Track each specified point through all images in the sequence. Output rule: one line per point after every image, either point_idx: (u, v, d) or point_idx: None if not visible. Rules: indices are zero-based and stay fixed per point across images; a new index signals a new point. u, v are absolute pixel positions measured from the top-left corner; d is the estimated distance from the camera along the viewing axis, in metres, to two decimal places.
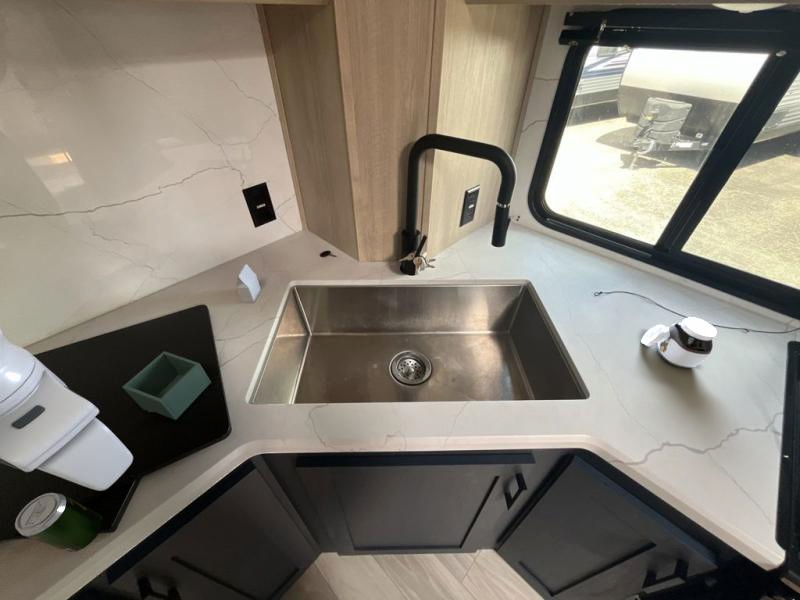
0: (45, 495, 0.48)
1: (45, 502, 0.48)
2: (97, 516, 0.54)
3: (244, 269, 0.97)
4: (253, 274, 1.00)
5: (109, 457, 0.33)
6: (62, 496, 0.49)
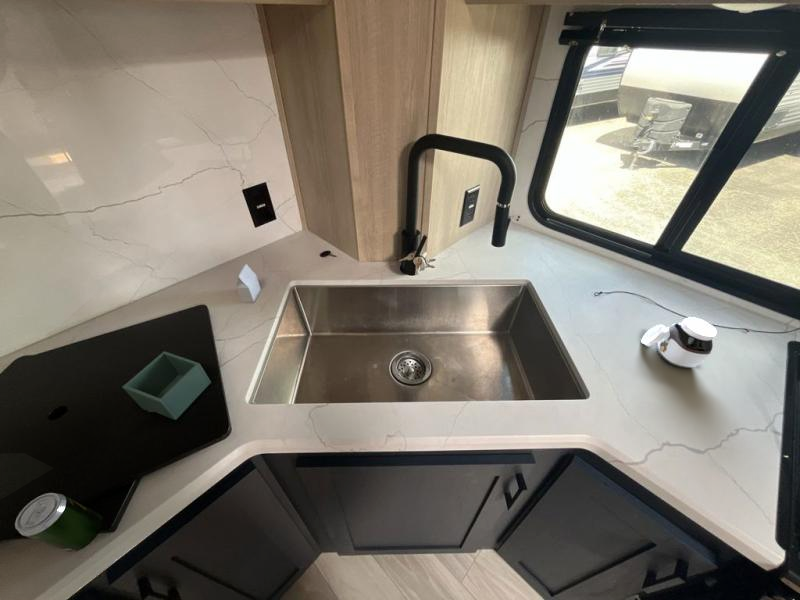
0: (45, 495, 0.48)
1: (45, 502, 0.48)
2: (97, 516, 0.54)
3: (244, 269, 0.97)
4: (253, 274, 1.00)
5: None
6: (62, 496, 0.49)
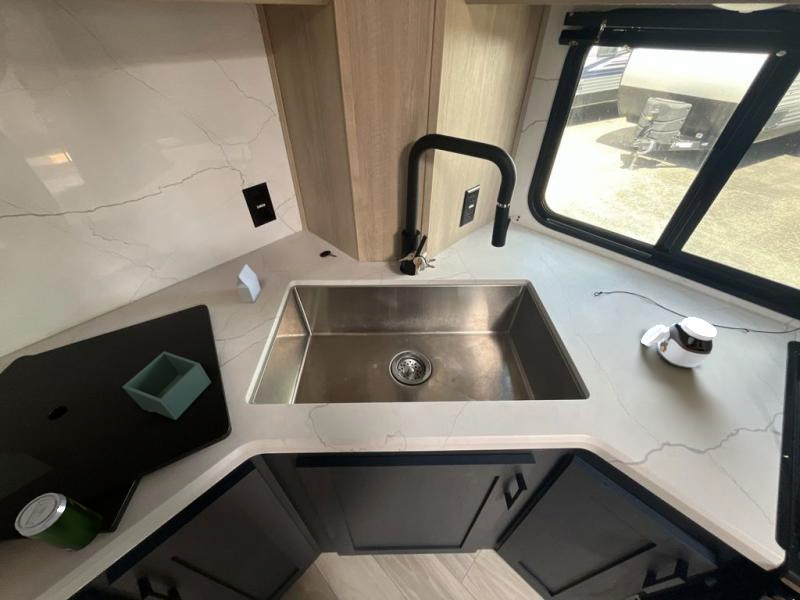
0: (45, 495, 0.48)
1: (45, 502, 0.48)
2: (97, 516, 0.54)
3: (244, 269, 0.97)
4: (253, 274, 1.00)
5: None
6: (62, 496, 0.49)
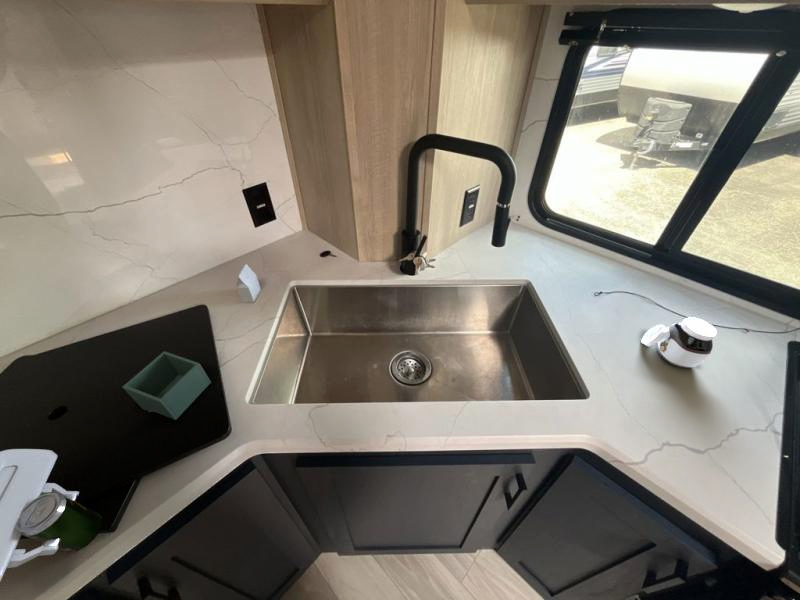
0: (45, 495, 0.48)
1: (45, 502, 0.48)
2: (97, 516, 0.54)
3: (244, 269, 0.97)
4: (253, 274, 1.00)
5: None
6: (62, 496, 0.49)
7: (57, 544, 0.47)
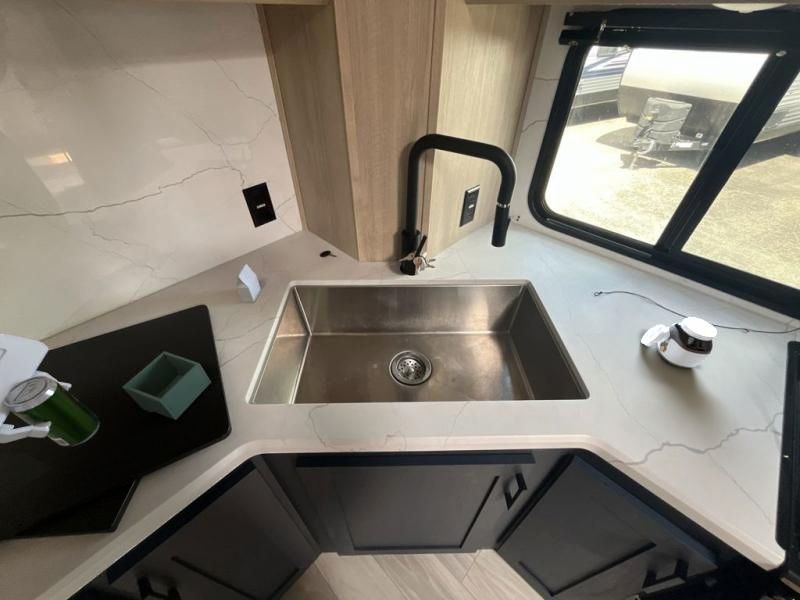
0: (35, 377, 0.46)
1: (35, 383, 0.46)
2: (90, 412, 0.52)
3: (244, 269, 0.97)
4: (253, 274, 1.00)
5: None
6: (53, 380, 0.47)
7: (48, 426, 0.45)
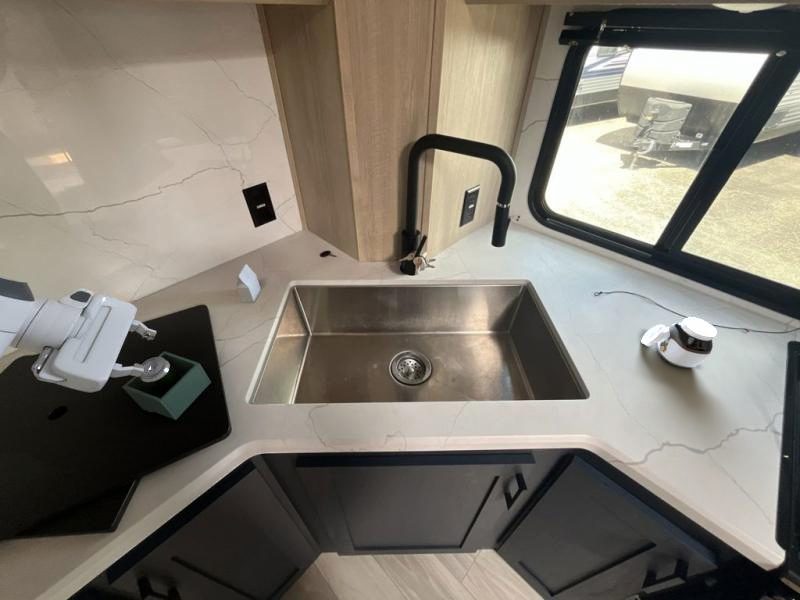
0: (153, 358, 0.66)
1: (155, 362, 0.66)
2: None
3: (244, 269, 0.97)
4: (253, 274, 1.00)
5: None
6: (165, 360, 0.67)
7: (143, 368, 0.60)
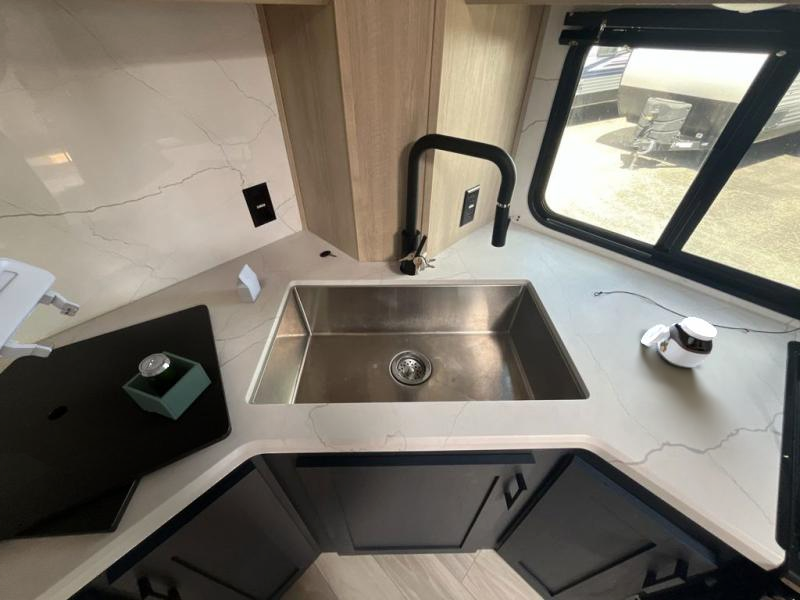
0: (155, 355, 0.68)
1: (156, 358, 0.67)
2: None
3: (244, 269, 0.97)
4: (253, 274, 1.00)
5: None
6: None
7: (50, 347, 0.48)
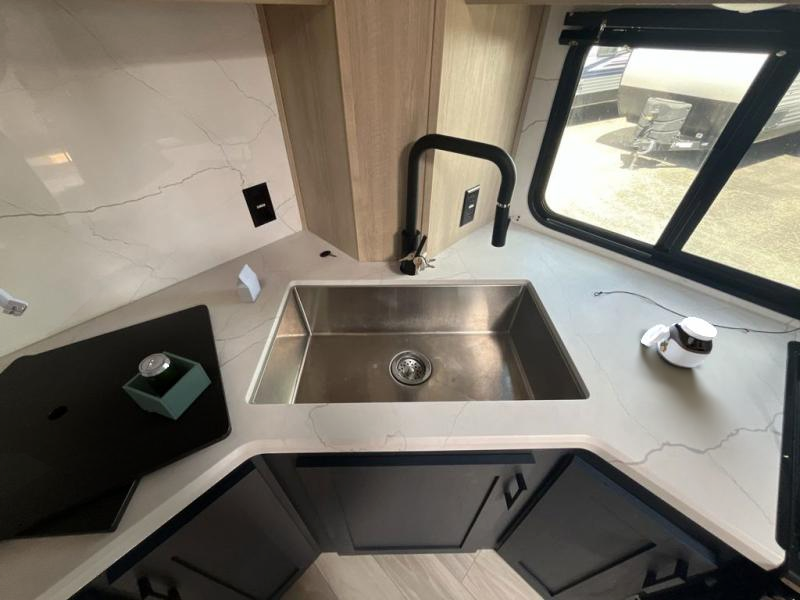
0: (155, 355, 0.68)
1: (156, 358, 0.67)
2: None
3: (244, 269, 0.97)
4: (253, 274, 1.00)
5: None
6: None
7: None
